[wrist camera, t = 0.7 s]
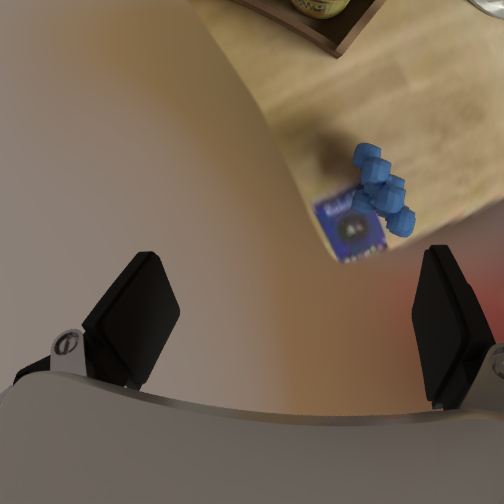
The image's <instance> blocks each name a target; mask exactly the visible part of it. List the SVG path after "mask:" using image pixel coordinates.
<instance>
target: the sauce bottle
mask: <svg viewBox="0 0 504 504" xmlns="http://www.w3.org/2000/svg"><path fill="white" fill-rule="evenodd" d="M349 1H350V0H291V2H292V4H293V5H294V6H295V8H296V9H297V10H298V11H300V12H301V13H302V14H304V15H306V16H308V17H311V18H313V19H327V18H331V17H334V16H336V15H338V14H340V13H341V12H342V11H343V10H344V9H345V7H346V5H347V4H348V2H349Z"/></svg>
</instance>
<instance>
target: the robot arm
mask: <svg viewBox="0 0 504 504" xmlns="http://www.w3.org/2000/svg"><path fill="white" fill-rule="evenodd" d="M469 1H470V2H471V3H472V4H474V5H475V6H476V7H477V8H479V9H480V10H482V11H483V12H485V13H486V14H488V15H490V16H492V17H495V18H498V19H504V0H469ZM179 315H180V308H179V305H178V303H177V300H176V298H175V296H174V293H173V291H172V288H171V286H170V283H169V281H168V278H167V276H166V273H165V270H164V268H163V265H162V262H161V260H160V258H159V256H158V255H156V254H155V253H154V252H152V251H149V252H139V253H137V254H136V256H135V257H134V258H133V259H132V261H131V262H130V263H129V264H128V265H127V267H126V268H125V269H124V270H123V271H122V273H121V274H120V275H119V276H118V278H117V279H116V280H115V282H114V283H113V284H112V285H111V286H110V288H109V289H108V290H107V291H106V293H105V294H104V295H103V297H102V298H101V299H100V301H99V302H98V303H97V304H96V306H95V307H94V309H93V310H92V311H91V312H90V314H89V315H88V316H87V318H86V319H85V320H84V322H83V323H82V327H83V328H84V329H85V333H84V334H83V333H82V332H81V331H80V330H77V329H70V330H67V331H65V332H63V333H61V334H60V335H59V336H58V337H57V338H56V339H55V341H54V342H53V344H52V347H51V355H49V356H47V357H45V358H43V359H41V360H39V361H37V362H35V363H33V364H31V365H29V366H27V367H25V368H23V369H21V370H20V371H19V372H18V373H17V374H16V377H15V379H14V382H13V386H9V387H8V388H7V389H6V390H5V391H3V392H2V393H1V394H0V504H504V343H498V344H496V343H495V340H494V337H493V335H492V332H491V330H490V328H489V325H488V322H487V320H486V318H485V315H484V313H483V311H482V309H481V306H480V304H479V302H478V300H477V298H476V295H475V293H474V291H473V289H472V287H471V286H470V285H469V284H468V283H467V281H466V279H465V277H464V275H463V273H462V271H461V270H460V267H459V266H458V264H457V262H456V260H455V258H454V256H453V254H452V253H451V251H450V249H449V247H448V246H447V245H431V246H430V248H429V249H428V250H425V252H424V257H423V262H422V267H421V273H420V277H419V282H418V287H417V291H416V295H415V300H414V304H413V308H412V322H413V326H414V331H415V336H416V340H417V345H418V350H419V355H420V361H421V366H422V371H423V378H424V384H425V391H426V397H427V400H428V401H432V409H441V408H443V411H429V412H420V413H407V414H391V415H367V416H312V415H291V414H277V413H265V412H254V411H246V410H238V409H229V408H223V407H216V406H209V405H203V404H197V403H192V402H186V401H181V400H176V399H171V398H166V397H161V396H157V395H152V394H149V393H144V392H140V391H139V390H140V388H141V386H142V384H144V383H146V381H147V380H148V378H149V375H150V374H151V372H152V369H153V367H154V365H155V363H156V361H157V359H158V357H159V355H160V353H161V351H162V349H163V347H164V345H165V343H166V341H167V340H168V338H169V335H170V334H171V332H172V330H173V328H174V326H175V324H176V322H177V320H178V318H179ZM125 385H126V386H127V388H125V387H124V386H125ZM132 389H133V390H132ZM136 390H137V391H136Z"/></svg>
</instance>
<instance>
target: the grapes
mask: <svg viewBox="0 0 504 504" xmlns="http://www.w3.org/2000/svg"><path fill="white" fill-rule="evenodd" d="M380 156H381V148H379V147H377V146H374V145H372V144H369V143H360V144H358V145H357V147H356V149H355V152H354V157H353V165H355V166H356V167H358V168H361V178H360V180H361V184H362V185H364V188H363V189H360V190H357V191H356V192H355V194H354V196H353V200H352V206H351V209H353V210H355V211H357V212H359V213H362V214H370V213H372V212H373V211H374V210H376V212H375V213H377V214H378V216H380V217H383V218H385V221H387V225H386V228H387V229H389V230H390V231H389V232H391V233H393V234H395V235H397V236H399V237H408V236H410V235H411V233H412V231H413V229H414V225H415V220H416V218H415V212H413V211H411V210H409V207H407V206H405V205H404V199H405V193H406V190H404V183H405V180H404V179H402V178H400V177H397V176H395V175H391V174H390V168H391V163H390V162H388V161H386V160H384V159H381V158H380Z"/></svg>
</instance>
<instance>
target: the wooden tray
mask: <svg viewBox="0 0 504 504" xmlns="http://www.w3.org/2000/svg"><path fill="white" fill-rule="evenodd" d="M232 1H235V2H237V3H239V4H241V5H244V6H246V7H248V8H250V9H252V10H254V11H256V12H258V13H260V14H262V15H264V16H266V17H268V18H270V19H272V20H274V21H276V22H278V23H280V24H281V25H283V26H285V27H287V28H289V29H290V30H292V31H294V32H296V33H297V34H299V35H301V36H302V37H304V38H306V39H307V40H309V41H311V42H312V43H314V44H315V45H317V46H319V47H320V48H322V49H323V50H325V51H326V52H328V53H329V54H331V55H332V56H334V57H335V58H337V59H338V58H339V57H341V56H342V55H343V54H344V53H345V51H346V50H347V49H348V47H349V46H350V45H351V44H352V42H353V41H354V40H355V38H356V37H357V36H358V35H359V33H360V32H361V31H362V30H363V28H364V27H365V26H366V25H367V23H368V22H369V21H370V20H371V18H372V17H373V16H374V15H375V14H376V12H377V11H378V10H379V9H380V7H381V6H382V5H383V4H384V3H385V1H386V0H375V1H374V2H373V3H372V5H371V6H370V7H369V8H368V9H367V11H366V12H365V13H364V14H363V16H362V17H361V18H360V19H359V21H358V22H357V23H356V24H355V26H354V27H353V28H352V29H351V31H350V32H349V33H348V34H347V36H346V37H345V38H344V39H343V41H342V42H341V43H340V45H339V46H338V45H336V44H335V43H333V42H332V41H330V40H329V39H327V38H326V37H324V36H323V35H321V34H319V33H318V32H316V31H315V30H313V29H311V28H310V27H308V26H306V25H305V24H303V23H301V22H299V21H298V20H296V19H294V18H292V17H290V16H289V15H287V14H285V13H283V12H281V11H279V10H277V9H275V8H273V7H271V6H269V5H267V4H265V3H263V2H261V1H259V0H232Z"/></svg>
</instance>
